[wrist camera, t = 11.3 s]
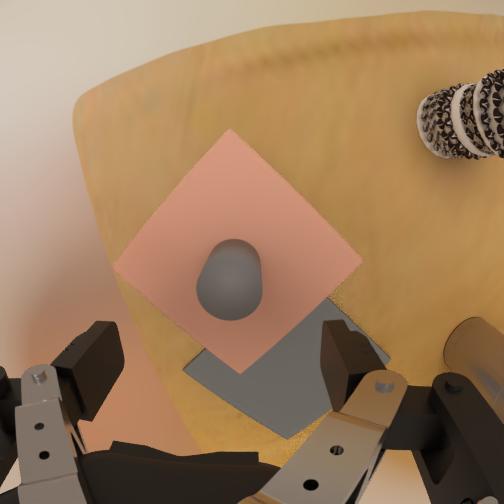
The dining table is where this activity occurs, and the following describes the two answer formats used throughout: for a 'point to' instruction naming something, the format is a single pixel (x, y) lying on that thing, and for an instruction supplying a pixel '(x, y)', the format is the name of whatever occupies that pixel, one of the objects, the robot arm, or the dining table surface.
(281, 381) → the mat
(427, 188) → the dining table surface
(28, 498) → the robot arm
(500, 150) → the decorative candle
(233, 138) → the lid
